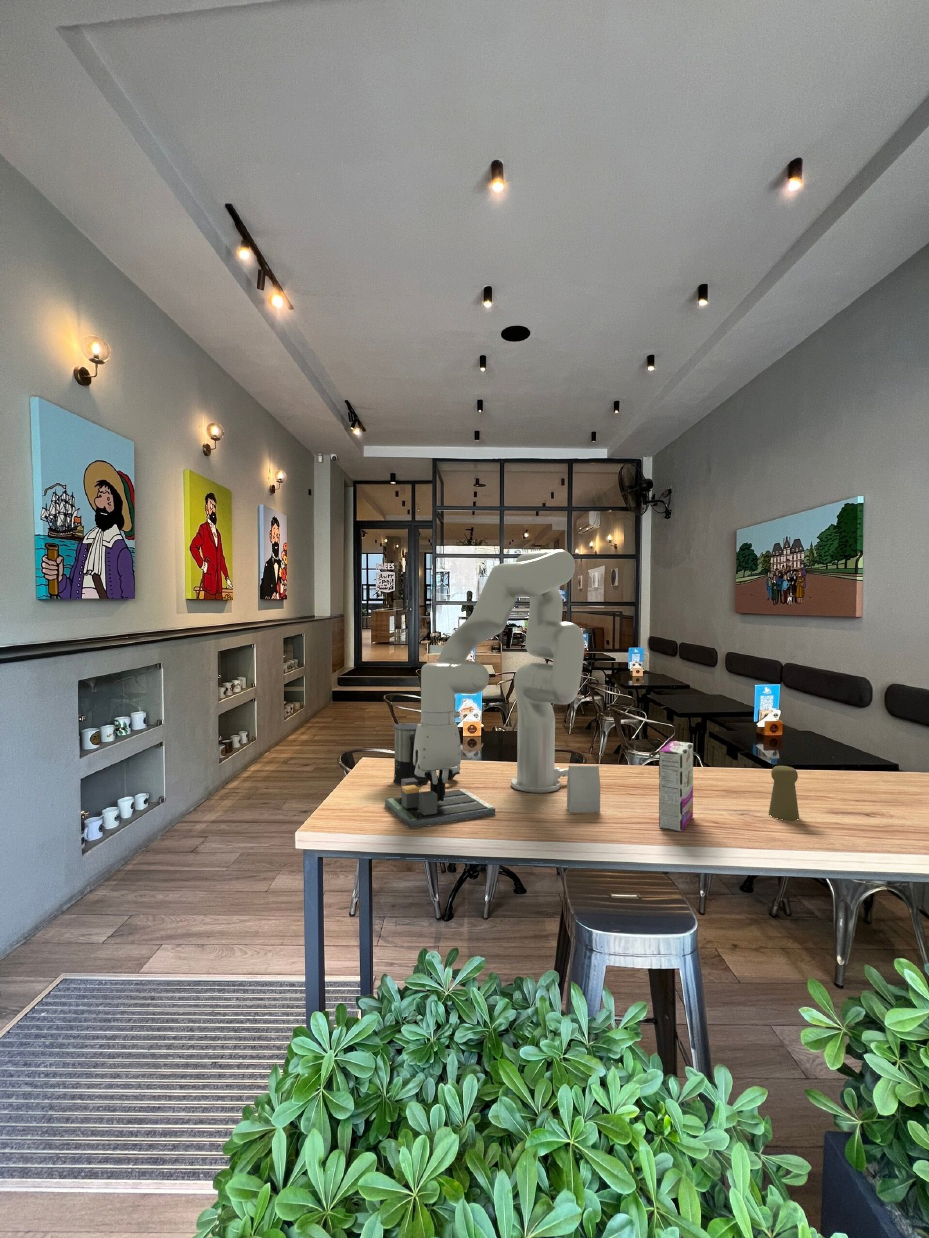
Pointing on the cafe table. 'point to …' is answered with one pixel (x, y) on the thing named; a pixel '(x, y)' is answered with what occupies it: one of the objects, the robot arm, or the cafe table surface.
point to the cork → (784, 794)
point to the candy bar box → (675, 785)
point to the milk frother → (407, 754)
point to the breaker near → (428, 802)
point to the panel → (443, 809)
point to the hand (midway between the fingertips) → (437, 799)
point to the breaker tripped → (410, 796)
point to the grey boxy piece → (583, 789)
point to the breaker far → (408, 782)
